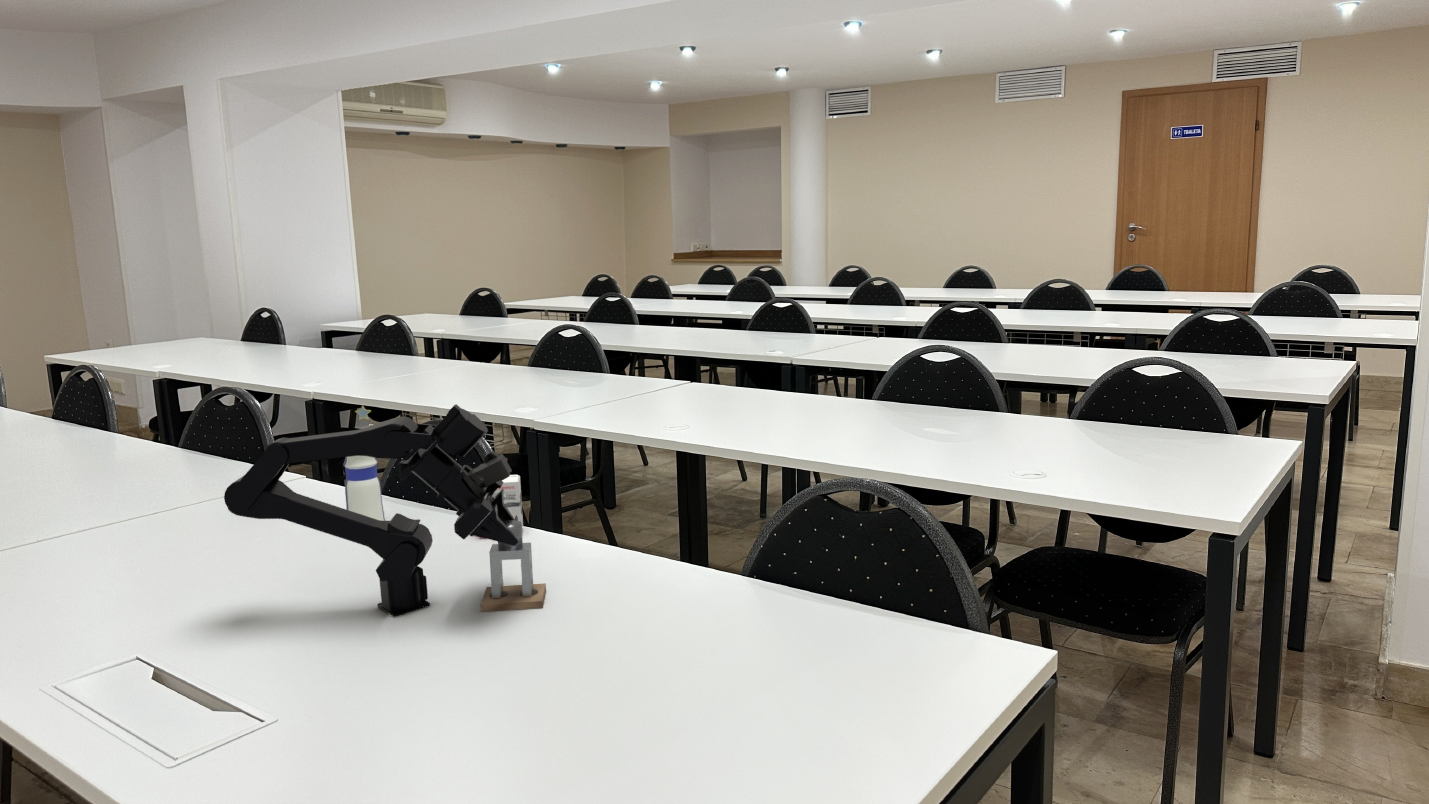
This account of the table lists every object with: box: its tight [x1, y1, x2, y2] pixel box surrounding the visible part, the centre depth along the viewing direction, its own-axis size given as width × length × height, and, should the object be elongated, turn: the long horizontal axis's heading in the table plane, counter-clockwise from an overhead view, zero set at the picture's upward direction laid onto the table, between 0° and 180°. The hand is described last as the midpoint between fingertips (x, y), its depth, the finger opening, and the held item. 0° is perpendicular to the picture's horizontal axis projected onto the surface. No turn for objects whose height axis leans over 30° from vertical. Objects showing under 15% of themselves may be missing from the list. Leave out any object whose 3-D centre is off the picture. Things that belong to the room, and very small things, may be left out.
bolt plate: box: [479, 583, 547, 613], centre depth 161 cm, size 10×8×1 cm
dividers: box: [488, 520, 534, 598], centre depth 160 cm, size 6×4×12 cm, turn 96°
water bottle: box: [342, 405, 386, 521], centre depth 205 cm, size 8×9×25 cm
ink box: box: [479, 474, 524, 539], centre depth 196 cm, size 8×5×12 cm, turn 98°
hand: (518, 538), depth 159 cm, fingers open, 5 cm apart
